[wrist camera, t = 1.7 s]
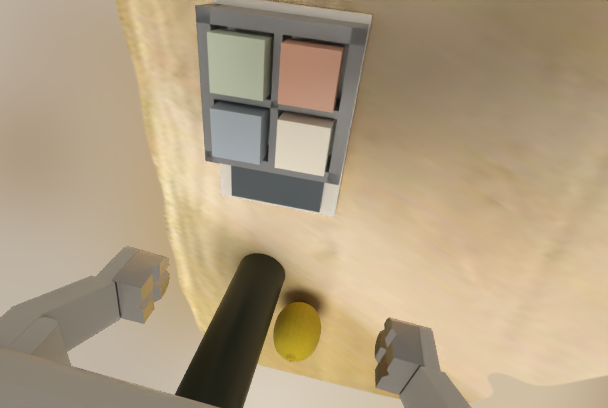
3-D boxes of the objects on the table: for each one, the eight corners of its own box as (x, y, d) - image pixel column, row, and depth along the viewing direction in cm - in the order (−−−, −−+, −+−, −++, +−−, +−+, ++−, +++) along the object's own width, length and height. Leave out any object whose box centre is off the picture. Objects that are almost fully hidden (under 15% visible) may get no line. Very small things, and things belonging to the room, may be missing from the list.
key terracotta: (288, 38, 24) (281, 42, 22) (344, 46, 23) (341, 51, 22) (284, 95, 26) (277, 103, 24) (335, 103, 26) (332, 112, 24)
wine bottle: (269, 294, 44) (128, 695, 19) (232, 271, 43) (31, 663, 18) (294, 271, 41) (162, 712, 16) (254, 245, 40) (47, 676, 15)
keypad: (217, -7, 26) (193, -5, 23) (372, 14, 25) (371, 19, 22) (224, 190, 36) (208, 212, 33) (335, 211, 35) (330, 236, 32)
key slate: (221, 99, 27) (209, 108, 25) (269, 107, 27) (261, 116, 25) (222, 145, 29) (212, 156, 28) (267, 153, 29) (259, 164, 27)
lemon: (289, 318, 46) (274, 375, 39) (277, 289, 43) (259, 344, 37) (329, 317, 44) (320, 376, 38) (319, 287, 42) (307, 344, 35)
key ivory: (284, 110, 27) (277, 119, 25) (334, 118, 26) (331, 128, 25) (281, 156, 29) (274, 167, 27) (327, 164, 29) (323, 176, 27)
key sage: (219, 28, 24) (206, 31, 23) (273, 36, 24) (264, 40, 22) (221, 85, 27) (209, 92, 25) (270, 93, 26) (262, 101, 24)
